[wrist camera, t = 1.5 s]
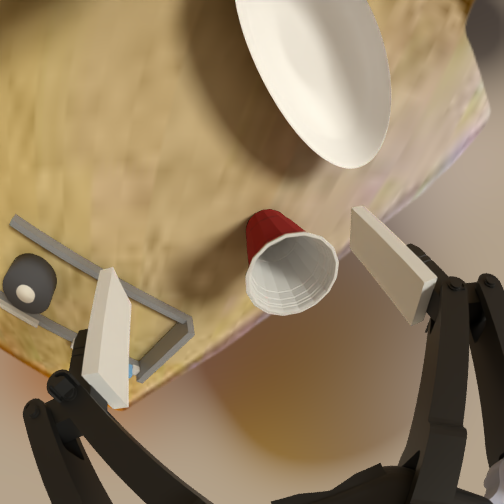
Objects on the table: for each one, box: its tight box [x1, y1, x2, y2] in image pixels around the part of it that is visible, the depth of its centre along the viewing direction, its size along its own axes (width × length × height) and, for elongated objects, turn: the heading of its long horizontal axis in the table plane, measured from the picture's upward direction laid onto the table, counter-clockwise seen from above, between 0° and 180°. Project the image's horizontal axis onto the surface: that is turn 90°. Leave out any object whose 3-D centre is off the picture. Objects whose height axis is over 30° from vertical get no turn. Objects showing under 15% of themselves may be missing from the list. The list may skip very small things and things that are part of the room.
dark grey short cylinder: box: [3, 254, 57, 314], centre depth 37 cm, size 8×8×4 cm
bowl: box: [235, 0, 391, 169], centre depth 29 cm, size 30×15×6 cm, turn 24°
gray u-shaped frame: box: [0, 214, 195, 383], centre depth 42 cm, size 32×16×4 cm, turn 45°
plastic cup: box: [246, 209, 339, 316], centre depth 39 cm, size 11×11×12 cm
